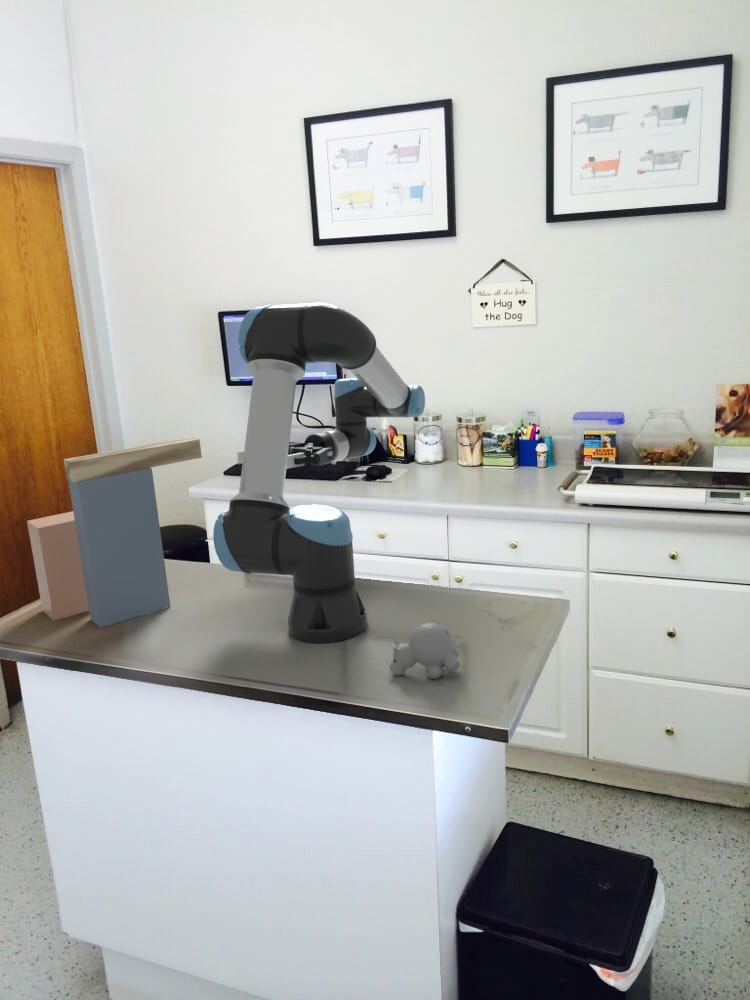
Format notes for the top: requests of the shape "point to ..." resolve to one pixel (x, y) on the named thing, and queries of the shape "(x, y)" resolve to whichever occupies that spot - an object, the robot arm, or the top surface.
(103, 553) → the post
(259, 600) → the top surface
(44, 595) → the step
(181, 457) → the bar
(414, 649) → the round bodied animal figurine
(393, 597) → the top surface
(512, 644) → the top surface
